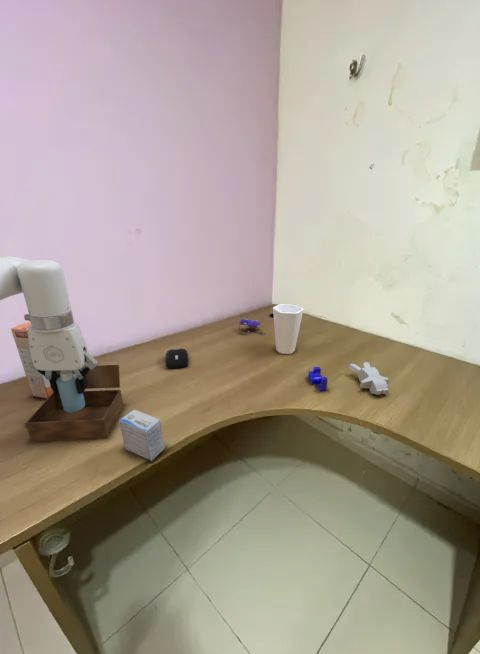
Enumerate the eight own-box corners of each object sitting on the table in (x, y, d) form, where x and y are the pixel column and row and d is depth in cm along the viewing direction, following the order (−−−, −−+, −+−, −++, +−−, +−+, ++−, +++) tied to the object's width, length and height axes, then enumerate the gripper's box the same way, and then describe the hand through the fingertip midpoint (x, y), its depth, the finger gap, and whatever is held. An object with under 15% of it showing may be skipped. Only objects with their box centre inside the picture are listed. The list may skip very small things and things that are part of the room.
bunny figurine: (370, 387, 91) (347, 359, 103) (366, 400, 93) (344, 371, 106) (398, 384, 93) (372, 356, 105) (393, 397, 96) (368, 368, 108)
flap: (51, 366, 80) (51, 366, 80) (52, 389, 80) (53, 389, 81) (118, 364, 82) (118, 364, 82) (119, 387, 82) (120, 387, 83)
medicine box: (165, 449, 71) (161, 418, 67) (151, 462, 67) (146, 431, 64) (139, 438, 74) (134, 408, 70) (124, 450, 70) (118, 419, 67)
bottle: (60, 412, 74) (50, 376, 70) (69, 401, 78) (60, 366, 74) (80, 412, 74) (72, 376, 70) (88, 400, 79) (80, 366, 74)
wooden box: (31, 441, 72) (24, 423, 69) (58, 408, 83) (53, 391, 81) (107, 437, 74) (103, 419, 71) (123, 405, 85) (120, 389, 83)
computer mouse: (187, 352, 116) (187, 342, 114) (188, 368, 105) (187, 357, 103) (166, 354, 114) (165, 344, 112) (165, 370, 103) (164, 359, 102)
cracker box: (50, 400, 86) (29, 330, 77) (31, 397, 87) (8, 328, 78) (86, 375, 99) (71, 312, 90) (69, 372, 99) (52, 310, 91)
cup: (298, 345, 125) (302, 304, 118) (300, 356, 116) (304, 313, 109) (271, 343, 125) (273, 303, 118) (270, 355, 116) (272, 312, 109)
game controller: (257, 317, 142) (266, 320, 134) (253, 334, 143) (261, 338, 134) (237, 312, 138) (245, 315, 129) (233, 330, 139) (240, 334, 130)
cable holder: (308, 377, 102) (309, 367, 101) (318, 377, 103) (319, 366, 101) (315, 391, 95) (316, 380, 94) (326, 390, 96) (327, 379, 94)
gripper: (-3, 325, 62) (22, 401, 70) (87, 326, 64) (102, 399, 72) (20, 313, 69) (40, 383, 76) (101, 314, 71) (113, 382, 79)
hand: (70, 390), depth 74 cm, fingers closed on bottle, 4 cm apart
